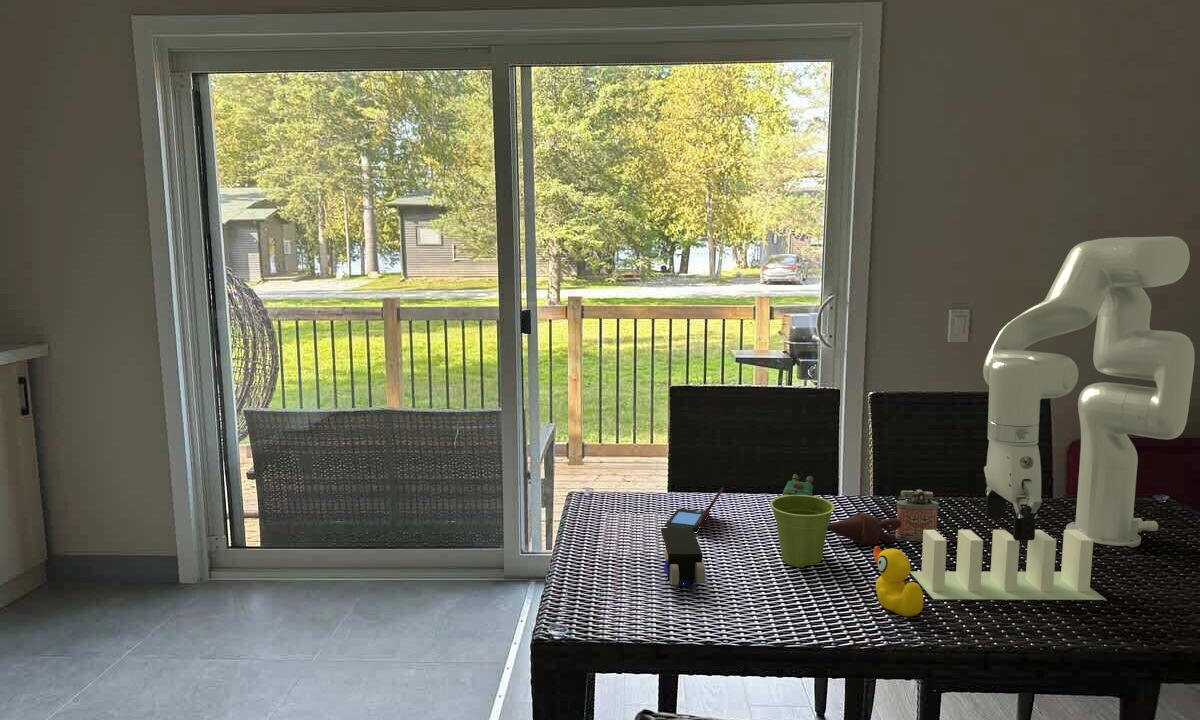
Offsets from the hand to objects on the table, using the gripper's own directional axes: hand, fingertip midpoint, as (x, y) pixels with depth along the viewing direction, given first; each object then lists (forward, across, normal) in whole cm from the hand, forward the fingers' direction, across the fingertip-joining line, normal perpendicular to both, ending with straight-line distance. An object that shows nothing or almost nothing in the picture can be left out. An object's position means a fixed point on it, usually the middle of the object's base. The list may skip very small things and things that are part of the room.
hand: (1009, 528), depth 129 cm
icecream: (+11, +19, +19) cm, 29 cm away
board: (+11, -1, +1) cm, 11 cm away
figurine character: (+9, +3, +56) cm, 57 cm away
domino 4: (+10, -1, -5) cm, 11 cm away
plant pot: (+10, +11, +33) cm, 36 cm away
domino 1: (+10, -1, +13) cm, 16 cm away
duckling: (+10, -9, +22) cm, 26 cm away
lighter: (+11, +23, +7) cm, 27 cm away
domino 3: (+10, -1, +1) cm, 10 cm away
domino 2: (+10, -1, +7) cm, 12 cm away
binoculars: (+11, +33, +29) cm, 45 cm away
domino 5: (+10, -1, -11) cm, 15 cm away
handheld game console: (+10, +32, +52) cm, 61 cm away
